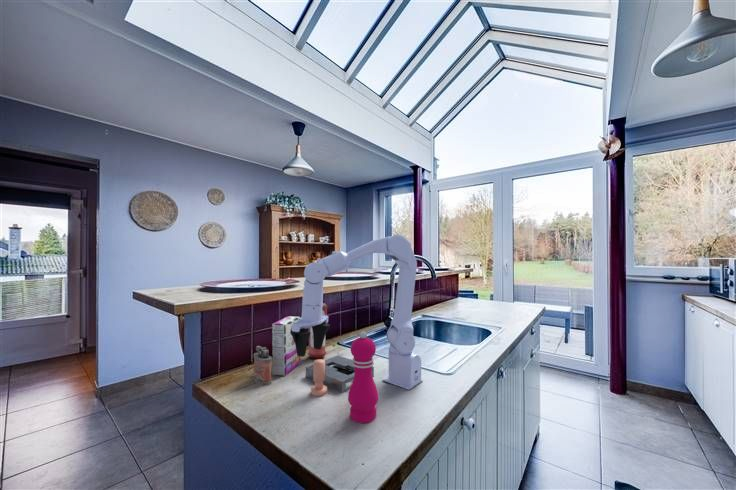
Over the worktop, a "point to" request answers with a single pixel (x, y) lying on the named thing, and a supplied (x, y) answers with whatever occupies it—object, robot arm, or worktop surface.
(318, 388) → the peg
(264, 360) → the lighter
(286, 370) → the candy bar box
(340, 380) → the keyhole plate
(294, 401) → the worktop surface
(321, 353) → the liquor
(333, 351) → the worktop surface
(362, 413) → the pepper mill
